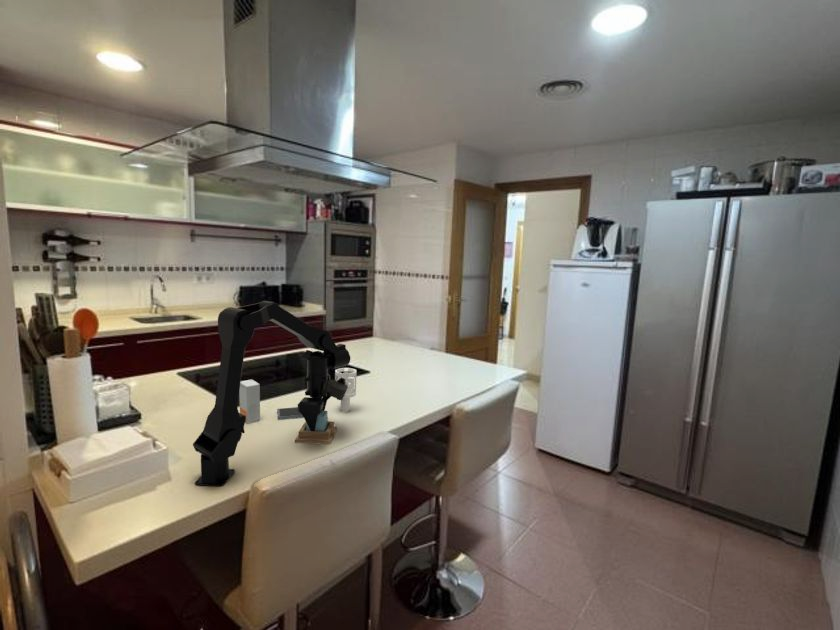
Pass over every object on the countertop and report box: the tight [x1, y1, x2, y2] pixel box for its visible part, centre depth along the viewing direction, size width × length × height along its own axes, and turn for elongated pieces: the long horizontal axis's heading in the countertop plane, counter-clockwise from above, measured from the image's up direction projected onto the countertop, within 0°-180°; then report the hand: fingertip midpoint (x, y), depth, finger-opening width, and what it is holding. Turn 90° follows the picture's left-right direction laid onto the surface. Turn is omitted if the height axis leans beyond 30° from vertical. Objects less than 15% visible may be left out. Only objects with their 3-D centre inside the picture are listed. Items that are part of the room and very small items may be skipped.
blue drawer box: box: [306, 410, 328, 431], centre depth 119 cm, size 4×5×6 cm
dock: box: [294, 420, 338, 445], centre depth 119 cm, size 10×10×3 cm
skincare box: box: [239, 379, 261, 424], centre depth 128 cm, size 6×4×12 cm
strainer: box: [334, 367, 357, 413], centre depth 139 cm, size 7×7×15 cm
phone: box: [276, 406, 304, 421], centre depth 135 cm, size 7×14×1 cm, turn 110°
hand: (317, 424), depth 119 cm, fingers open, 9 cm apart
